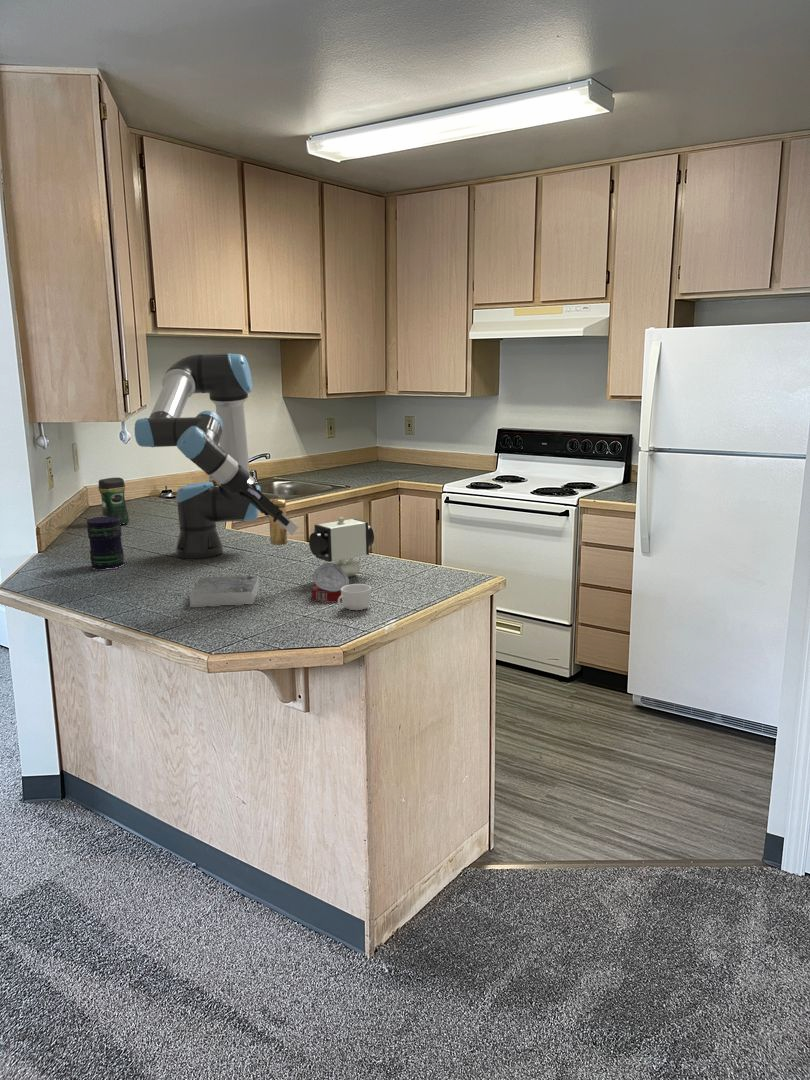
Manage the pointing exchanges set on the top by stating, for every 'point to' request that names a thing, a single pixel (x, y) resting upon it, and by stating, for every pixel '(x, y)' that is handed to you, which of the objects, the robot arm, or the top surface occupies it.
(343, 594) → the teacup
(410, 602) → the top surface
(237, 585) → the jig
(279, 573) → the top surface
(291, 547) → the top surface
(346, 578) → the canned food
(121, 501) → the coffee jar
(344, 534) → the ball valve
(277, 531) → the gold metal cylinder
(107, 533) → the storage jar
